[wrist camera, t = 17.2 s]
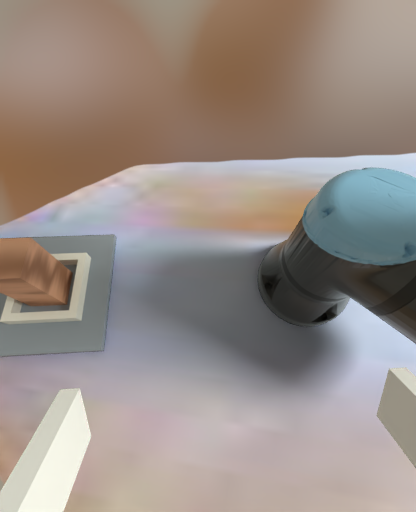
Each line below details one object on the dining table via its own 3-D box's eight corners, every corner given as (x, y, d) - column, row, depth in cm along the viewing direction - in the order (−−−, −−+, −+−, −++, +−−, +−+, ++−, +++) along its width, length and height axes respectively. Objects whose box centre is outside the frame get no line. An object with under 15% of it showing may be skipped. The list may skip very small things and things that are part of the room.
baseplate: (16, 241, 47) (4, 232, 44) (116, 237, 48) (111, 228, 45) (-19, 357, 39) (-37, 356, 36) (103, 351, 39) (96, 348, 37)
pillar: (39, 274, 43) (-14, 238, 33) (72, 272, 44) (30, 237, 33) (31, 306, 41) (-29, 279, 30) (66, 304, 41) (19, 277, 30)
